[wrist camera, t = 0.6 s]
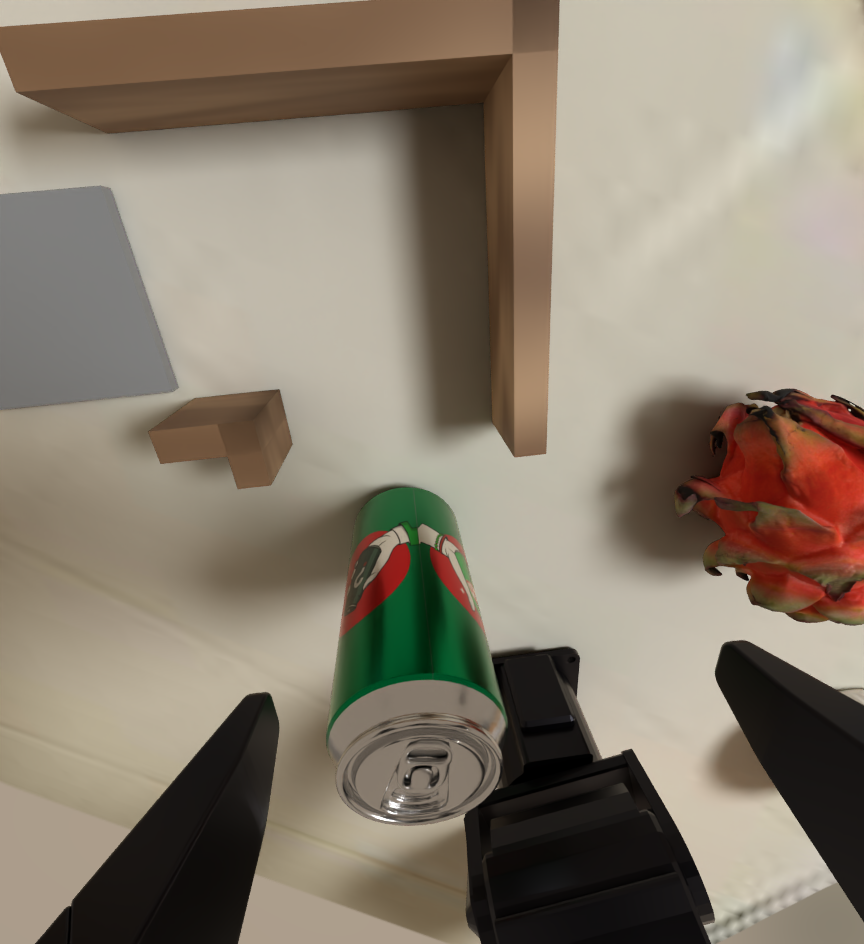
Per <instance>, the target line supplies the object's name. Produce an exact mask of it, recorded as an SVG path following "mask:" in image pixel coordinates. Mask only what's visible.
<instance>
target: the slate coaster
mask: <svg viewBox="0 0 864 944" xmlns="http://www.w3.org/2000/svg"><path fill="white" fill-rule="evenodd" d="M178 388H179V387H178V384H177V381H176V378H175V375H174V372H173V369H172V366H171V363H170V361H169V358H168V355H167V352H166V349H165V346H164V343H163V340H162V337H161V334H160V331H159V328H158V325H157V322H156V320H155V317H154V314H153V311H152V308H151V305H150V302H149V299H148V296H147V293H146V290H145V287H144V284H143V281H142V279H141V276H140V273H139V270H138V267H137V264H136V261H135V258H134V255H133V252H132V249H131V246H130V243H129V240H128V238H127V235H126V232H125V229H124V226H123V223H122V220H121V217H120V214H119V211H118V208H117V205H116V202H115V199H114V197H113V194H112V191H111V188H107V187H104V186H91V187H80V188H68V189H57V190H45V191H33V192H22V193H10V194H0V410H4V409H13V408H23V407H32V406H42V405H51V404H61V403H70V402H80V401H89V400H99V399H108V398H118V397H127V396H137V395H147V394H156V393H166V392H173V391H175V390H176V389H178Z"/></svg>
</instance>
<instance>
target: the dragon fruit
mask: <svg viewBox="0 0 864 944" xmlns="http://www.w3.org/2000/svg"><path fill="white" fill-rule="evenodd" d="M746 396H747V397H748V398H749V399H751V400H762V401H769V402H774V403H776V404H778V405H776V406H774V407H772V408H770V407H769V406H763V407H761V408H758V406H757V405H756V404H751V405H744V404H743V403H736V404H732V405H729V406H727V407H726V409H725V411H724V413H723V414H722V416H721V418H720V416H719V420H718V422H717V424H716V425H715V427H714V428H713V429H712V431H711V432H710V434H711V441H710V443H709V445H710V449H711V451H712V454H713V457H714V455H715V448H716V447H715V441H716V440H717V446H718V448H721V447H722V442H723V436H724V434H725V437H726V439H727V442H728V446H727V451H728V452H727V455H726V457H725V460H724V462H723V466H722V469H721V472H720V476H719V477H716V478H710V479H707V478H705V477H701V476H691V478H694V479H691V480H689V481H687V482H685V483H683V484H682V485H680V486H679V487H678V488H677V490H676V491H675V494H674V500H675V509H676V514H677V516H678V517H682V516H683V515H685V514H687V513H689V512H690V511H691V510H693V511H695V512H697V513H699V514H700V516H702V517H704V518H706V519H710V520H713V521H714V522H716V523H717V524H718V525H719V526H720V527H721V528H722V530H723V531H724V533H725V534H726V535H725V536H724V537H722V538H721V539H720V540H717V541H714V542H712V543H711V544H710V545H709V546H708V547H707V549H706V550H705V552H704V555H703V563H704V566H705V571H707V572H708V573H709V574H711V575H713V576H721V575H722V573H721V572H720V571H719V570H717V569H716V568H715V567H717V566H726V567H733V568H735V571H736V575H737V576H738V577H740V578H742V579H744V580H746V581H749V578H748V576H747V574H748V575H750V576H751V579H750V581H749V582H748V584H747V588H746V590H747V594H748V597H749V599H750V602H751V604H753V605H758V606H760V607H763V608H766V609H768V610H771V611H776V612H783V613H786V614H787V615H788V616H789V617H791V618H792V619H794V620H796V621H799V622H805V623H817V622H824V621H827V620H830V621H833V622H835V623H838V624H840V623H842V624H845V625H853V626H855V625H862V624H864V409H862V408H861V407H859V406H857V405H855V404H853V403H852V404H853V405H855V406H856V407H854V406H852V405H851V404H849V403H851V402H850V401H848V400H846V399H844V398H841V397H839V396H836V395H831V398H833V399H834V400H836V401H827V400H823V399H816V398H813V397H811V396H809V395H808V394H806V393H804V392H802V391H800V390H797V389H781V390H778V391H775V392H773V393H771V392H769V391H758V392H753V393H748V394H746ZM723 409H724V408H723ZM848 409H851V411H850V412H849V411H848ZM720 414H721V413H720Z"/></svg>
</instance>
